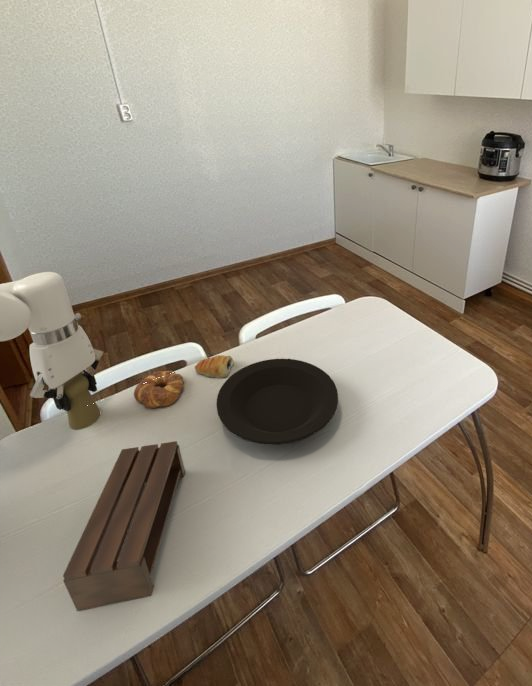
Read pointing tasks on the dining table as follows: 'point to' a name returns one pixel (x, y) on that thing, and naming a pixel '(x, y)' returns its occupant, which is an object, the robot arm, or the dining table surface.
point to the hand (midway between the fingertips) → (78, 398)
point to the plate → (277, 401)
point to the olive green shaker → (80, 403)
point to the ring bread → (159, 389)
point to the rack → (125, 528)
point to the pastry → (215, 366)
